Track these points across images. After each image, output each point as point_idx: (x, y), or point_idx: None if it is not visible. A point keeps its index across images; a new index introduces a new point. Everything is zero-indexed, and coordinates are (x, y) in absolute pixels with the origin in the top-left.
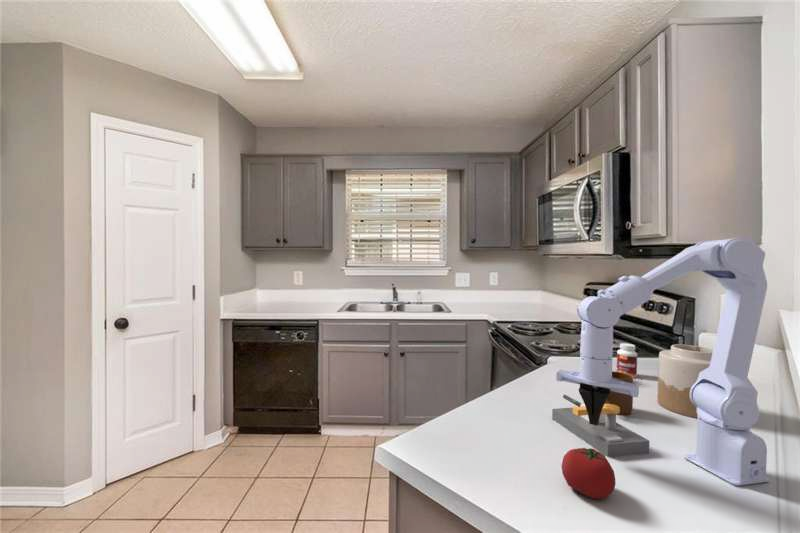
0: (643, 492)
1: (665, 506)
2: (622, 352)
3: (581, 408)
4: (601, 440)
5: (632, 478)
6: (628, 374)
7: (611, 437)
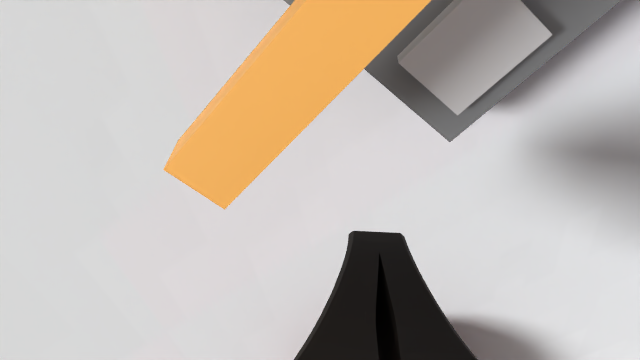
0: (561, 293)
1: (616, 326)
2: None
3: (236, 151)
4: (410, 107)
5: (537, 228)
6: None
7: (476, 65)
